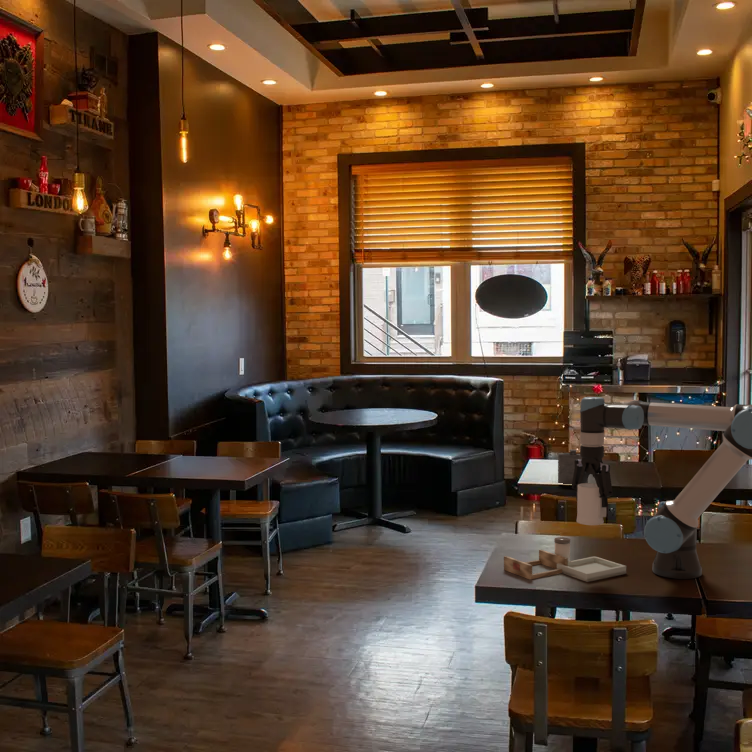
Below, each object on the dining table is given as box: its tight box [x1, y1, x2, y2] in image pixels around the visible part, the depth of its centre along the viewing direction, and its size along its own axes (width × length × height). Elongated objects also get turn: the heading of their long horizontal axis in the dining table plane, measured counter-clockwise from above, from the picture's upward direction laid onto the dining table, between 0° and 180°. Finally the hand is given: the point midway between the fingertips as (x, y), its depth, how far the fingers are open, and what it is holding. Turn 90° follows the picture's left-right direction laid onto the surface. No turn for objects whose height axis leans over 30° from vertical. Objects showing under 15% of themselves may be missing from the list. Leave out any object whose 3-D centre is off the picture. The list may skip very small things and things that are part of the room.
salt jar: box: [553, 536, 571, 561], centre depth 300 cm, size 5×5×9 cm
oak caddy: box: [503, 549, 568, 580], centre depth 294 cm, size 13×16×4 cm
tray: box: [557, 555, 627, 583], centre depth 292 cm, size 14×17×2 cm
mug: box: [576, 482, 604, 526], centre depth 291 cm, size 12×8×12 cm
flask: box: [557, 449, 589, 484], centre depth 439 cm, size 4×14×18 cm, turn 78°
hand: (591, 514), depth 291 cm, fingers closed on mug, 9 cm apart
